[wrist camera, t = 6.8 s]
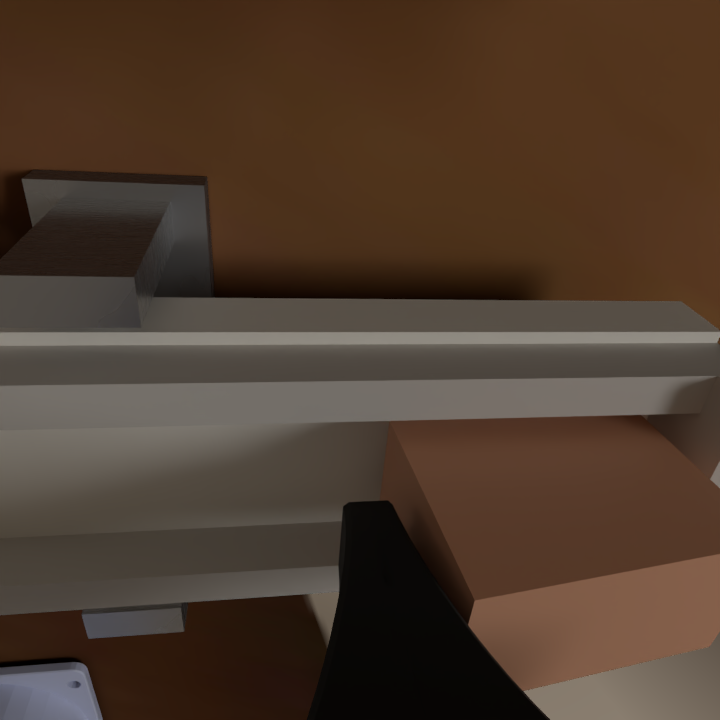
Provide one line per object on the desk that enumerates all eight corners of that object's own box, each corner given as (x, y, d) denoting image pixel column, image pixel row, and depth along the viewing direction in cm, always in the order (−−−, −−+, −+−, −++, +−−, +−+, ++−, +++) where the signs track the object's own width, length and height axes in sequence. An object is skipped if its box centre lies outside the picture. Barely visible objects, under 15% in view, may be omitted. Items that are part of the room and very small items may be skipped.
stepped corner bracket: (-486, 527, 17) (-746, 711, 13) (-877, 133, 11) (-1597, 221, 7) (514, 486, 22) (576, 610, 17) (601, 192, 16) (725, 267, 12)
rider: (376, 522, 14) (444, 709, 11) (389, 420, 13) (475, 600, 9) (586, 491, 16) (709, 646, 12) (621, 396, 14) (778, 542, 11)
